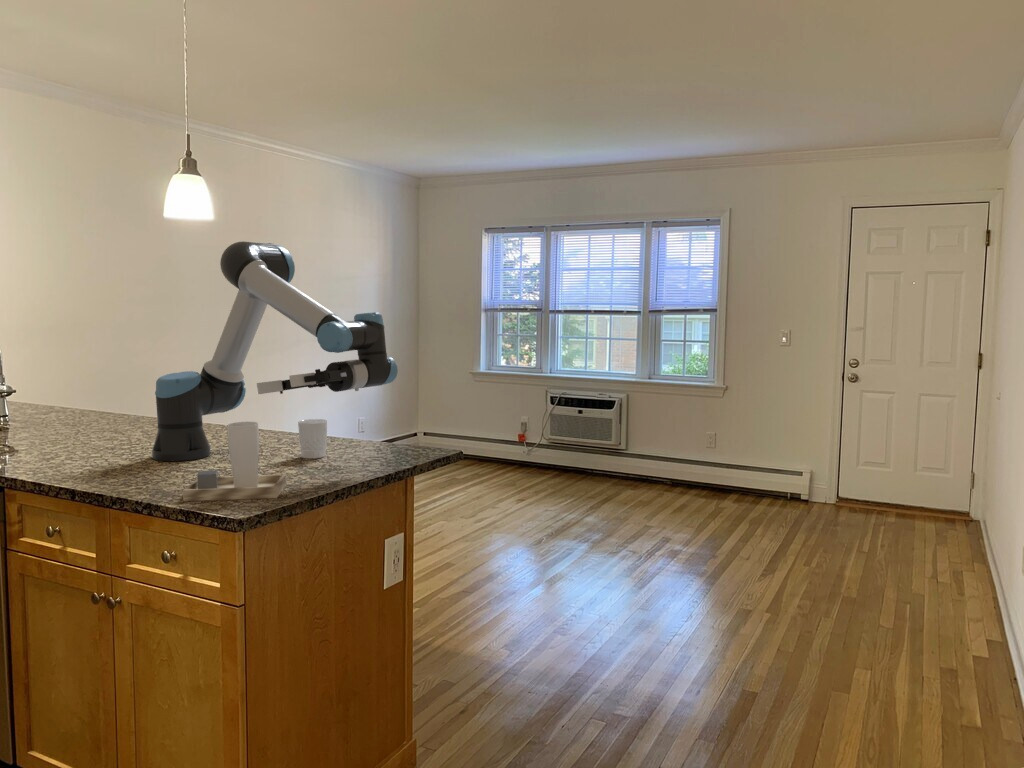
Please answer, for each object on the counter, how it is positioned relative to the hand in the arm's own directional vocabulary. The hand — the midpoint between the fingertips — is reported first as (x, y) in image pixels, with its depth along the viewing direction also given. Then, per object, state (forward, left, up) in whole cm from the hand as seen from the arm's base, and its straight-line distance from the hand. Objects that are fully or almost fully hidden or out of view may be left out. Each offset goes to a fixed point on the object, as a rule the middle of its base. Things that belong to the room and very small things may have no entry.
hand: (274, 385), depth 188 cm
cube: (-14, -7, -23) cm, 28 cm away
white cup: (+4, +33, -24) cm, 41 cm away
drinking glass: (-6, -7, -23) cm, 25 cm away
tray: (-8, -7, -24) cm, 26 cm away
